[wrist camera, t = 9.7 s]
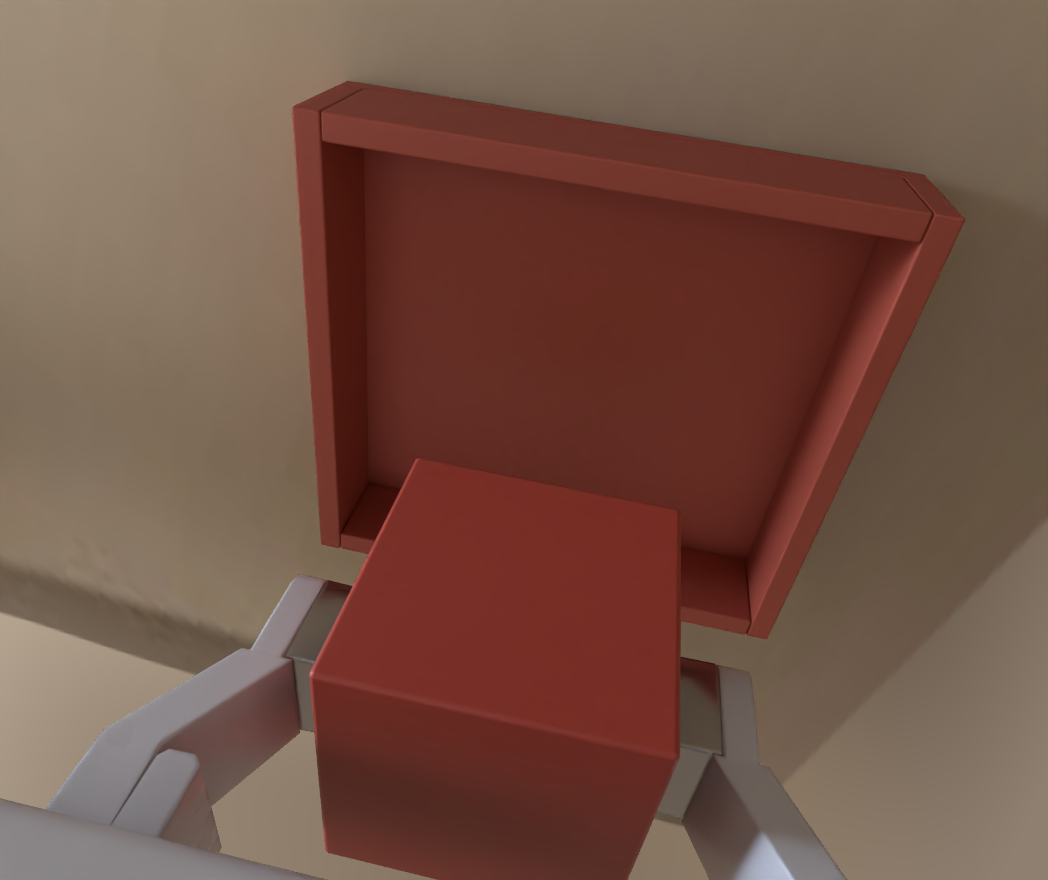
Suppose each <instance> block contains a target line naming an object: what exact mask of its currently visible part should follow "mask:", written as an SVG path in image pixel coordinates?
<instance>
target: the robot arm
mask: <svg viewBox="0 0 1048 880" xmlns="http://www.w3.org/2000/svg"><path fill="white" fill-rule="evenodd" d="M352 587H353V586H350V585H345V584H341V583H337V582H333V581H329V580H324V579H320V578H315V577H311V576H307V575H302V574H299V575H298V576H297V577H296V578H295V579H293V580H292V581H291V583H290V585H289V586H288V588H287V590H286V591H285V593H284V595H283V596H282V598H281V600H280V601H279V603H278V605H277V606H276V608H275V610H274V611H273V613H272V615H271V616H270V618H269V620H268V621H267V623H266V625H265V626H264V628H263V630H262V631H261V633H260V635H259V636H258V638H257V640H256V641H255V643H254V645H253V646H252V648H251V650H249V649H244V648H241V649H240V650H238V651H236V652H234V653H233V654H231V655H229V656H228V657H226V658H224V659H223V660H221V661H219V662H217V663H216V664H214V665H212V666H211V667H209V668H207V669H206V670H204V671H202V672H200V673H199V674H197V675H195V676H194V677H192V678H190V679H189V680H187V681H185V682H183V683H182V684H180V685H178V686H177V687H175V688H173V689H172V690H170V691H168V692H166V693H165V694H163V695H161V696H160V697H158V698H156V699H155V700H153V701H151V702H149V703H148V704H146V705H144V706H143V707H141V708H139V709H137V710H136V711H134V712H132V713H131V714H129V715H127V716H126V717H124V718H122V719H120V720H119V721H117V722H115V723H114V724H112V725H110V726H109V727H107V728H105V729H104V730H103V731H102V732H101V733H100V735H99V736H98V737H97V739H96V740H95V742H94V743H93V744H92V746H91V747H90V749H89V750H88V751H87V753H86V754H85V755H84V757H83V758H82V760H81V761H80V762H79V764H78V765H77V766H76V768H75V769H74V771H73V772H72V773H71V775H70V776H69V777H68V779H67V780H66V782H65V783H64V784H63V786H62V787H61V789H60V790H59V791H58V793H57V794H56V795H55V797H54V798H53V799H52V801H51V802H50V804H49V805H48V806H47V808H46V809H41V808H37V807H33V806H28V805H24V804H21V803H16V802H13V801H8V800H5V799H0V880H326V879H322V878H318V877H314V876H310V875H306V874H302V873H298V872H294V871H290V870H286V869H282V868H278V867H274V866H270V865H266V864H262V863H258V862H254V861H250V860H246V859H242V858H238V857H234V856H230V855H225V854H222V853H219V852H220V849H221V843H220V839H219V835H218V831H217V827H216V823H215V820H214V816H213V812H212V808H211V806H212V805H213V804H215V803H216V802H217V801H218V800H220V799H221V798H222V797H223V796H224V795H226V794H227V793H228V792H229V791H230V790H231V789H233V788H234V787H235V786H236V785H238V784H239V783H240V782H241V781H242V780H244V779H245V778H246V777H247V776H248V775H250V774H251V773H252V772H253V771H254V770H256V769H257V768H258V767H259V766H261V765H262V764H263V763H264V762H265V761H267V760H268V759H269V758H270V757H271V756H273V755H274V754H275V753H276V752H277V751H279V750H280V749H281V748H282V747H283V746H284V745H286V744H287V743H288V742H289V741H291V740H292V739H293V738H294V737H295V736H297V735H298V734H299V733H300V729H301V730H305V731H310V732H314V722H313V711H312V700H311V690H310V679H309V673H310V671H311V669H312V667H313V665H314V663H315V661H316V659H317V657H318V655H319V653H320V651H321V649H322V647H323V645H324V643H325V641H326V639H327V637H328V635H329V633H330V631H331V629H332V627H333V625H334V623H335V621H336V619H337V617H338V615H339V613H340V611H341V609H342V607H343V605H344V603H345V601H346V599H347V597H348V595H349V593H350V591H351V589H352ZM657 812H659V813H663V814H666V815H670V816H674V817H678V818H682V819H683V820H682V823H683V825H684V827H685V829H686V831H687V833H688V835H689V837H690V839H691V842H692V844H693V846H694V848H695V850H696V852H697V854H698V856H699V858H700V860H701V863H702V865H703V867H704V869H705V871H706V873H707V875H708V877H709V879H710V880H847V879H846V878H845V876H844V875H843V873H842V872H841V870H840V869H839V868H838V866H837V865H836V863H835V862H834V860H833V859H832V857H831V856H830V854H829V853H828V852H827V850H826V849H825V847H824V846H823V844H822V843H821V841H820V840H819V839H818V837H817V836H816V834H815V833H814V831H813V830H812V828H811V827H810V826H809V824H808V823H807V821H806V820H805V818H804V817H803V816H802V814H801V813H800V811H799V810H798V808H797V807H796V806H795V804H794V803H793V801H792V800H791V798H790V797H789V795H788V794H787V792H786V791H785V790H784V788H783V787H782V785H781V784H780V782H779V781H778V779H777V778H776V777H775V775H774V774H773V772H772V771H771V769H770V768H769V767H766V766H762V765H760V763H759V753H758V742H757V732H756V721H755V711H754V700H753V690H752V679H751V676H750V674H749V672H748V671H743V670H739V669H734V668H729V667H725V666H720V665H715V664H714V663H709V662H704V661H699V660H694V659H689V658H684V657H680V758H679V761H678V763H677V765H676V768H675V770H674V772H673V775H672V777H671V779H670V782H669V784H668V786H667V789H666V791H665V793H664V796H663V798H662V800H661V803H660V805H659V807H658V810H657Z"/></svg>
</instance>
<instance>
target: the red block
mask: <svg viewBox="0 0 1048 880" xmlns="http://www.w3.org/2000/svg"><path fill="white" fill-rule="evenodd" d="M680 641H681V514H680V511H678V510H676V509H671V508H666V507H661V506H656V505H651V504H646V503H641V502H636V501H631V500H626V499H621V498H616V497H611V496H606V495H601V494H596V493H591V492H586V491H581V490H576V489H571V488H566V487H561V486H556V485H551V484H546V483H541V482H536V481H531V480H526V479H521V478H516V477H511V476H506V475H502V474H497V473H492V472H487V471H482V470H477V469H472V468H467V467H462V466H457V465H452V464H447V463H442V462H437V461H432V460H427V459H422V458H418V459H416V460H415V462H414V464H413V466H412V468H411V470H410V472H409V474H408V476H407V478H406V480H405V482H404V484H403V486H402V488H401V490H400V492H399V494H398V496H397V498H396V500H395V502H394V504H393V506H392V508H391V510H390V512H389V514H388V516H387V518H386V520H385V522H384V524H383V526H382V528H381V530H380V532H379V534H378V536H377V538H376V540H375V542H374V544H373V546H372V548H371V551H370V553H369V555H368V557H367V559H366V561H365V563H364V565H363V567H362V569H361V571H360V573H359V575H358V577H357V579H356V581H355V583H354V585H353V587H352V589H351V591H350V593H349V595H348V597H347V599H346V601H345V603H344V605H343V607H342V609H341V611H340V613H339V615H338V617H337V619H336V621H335V623H334V625H333V627H332V629H331V631H330V633H329V635H328V637H327V639H326V641H325V643H324V645H323V647H322V649H321V651H320V653H319V655H318V657H317V659H316V661H315V663H314V665H313V667H312V669H311V671H310V673H309V679H310V690H311V700H312V711H313V722H314V733H315V743H316V754H317V765H318V775H319V786H320V798H321V808H322V819H323V829H324V841H325V850H326V851H327V852H328V853H332V854H335V855H339V856H344V857H348V858H352V859H356V860H360V861H364V862H369V863H372V864H377V865H381V866H384V867H389V868H393V869H397V870H401V871H405V872H409V873H413V874H417V875H421V876H425V877H429V878H433V879H437V880H628V877H629V875H630V873H631V871H632V868H633V866H634V864H635V861H636V859H637V856H638V854H639V852H640V849H641V847H642V845H643V842H644V840H645V838H646V835H647V833H648V831H649V828H650V826H651V824H652V821H653V819H654V817H655V814H656V812H657V810H658V807H659V805H660V803H661V800H662V798H663V796H664V793H665V791H666V789H667V786H668V784H669V782H670V779H671V777H672V775H673V772H674V770H675V768H676V765H677V763H678V761H679V758H680Z"/></svg>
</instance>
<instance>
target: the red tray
mask: <svg viewBox="0 0 1048 880" xmlns="http://www.w3.org/2000/svg"><path fill="white" fill-rule="evenodd" d="M292 116H293V131H294V146H295V160H296V175H297V190H298V205H299V220H300V235H301V250H302V265H303V279H304V294H305V309H306V324H307V339H308V354H309V369H310V384H311V398H312V413H313V428H314V443H315V458H316V473H317V488H318V503H319V517H320V532H321V544H322V545H327V546H332V547H336V548H340V547H341V548H343V549H347V550H352V551H357V552H362V553H366V554H369V553H370V551H371V548H372V546H373V544H374V542H375V540H376V538H377V536H378V534H379V532H380V530H381V528H382V526H383V524H384V522H385V520H386V518H387V516H388V514H389V512H390V510H391V508H392V506H393V504H394V502H395V500H396V498H397V496H398V494H399V492H400V490H401V488H402V486H403V484H404V482H405V480H406V478H407V476H408V474H409V472H410V470H411V468H412V466H413V464H414V462H415V460H416V459H418V458H422V459H427V460H432V461H437V462H442V463H447V464H452V465H457V466H462V467H467V468H472V469H477V470H482V471H487V472H492V473H497V474H502V475H506V476H511V477H516V478H521V479H526V480H531V481H536V482H541V483H546V484H551V485H556V486H561V487H566V488H571V489H576V490H581V491H586V492H591V493H596V494H601V495H606V496H611V497H616V498H621V499H626V500H631V501H636V502H641V503H646V504H651V505H656V506H661V507H666V508H671V509H676V510H678V511H680V514H681V621H684V622H688V623H693V624H698V625H702V626H707V627H712V628H716V629H721V630H726V631H730V632H735V633H740V634H746V633H747V635H748V636H753V637H757V638H762V639H767V638H768V636H769V634H770V631H771V629H772V627H773V625H774V623H775V621H776V619H777V617H778V615H779V612H780V610H781V608H782V606H783V604H784V602H785V600H786V598H787V596H788V593H789V591H790V589H791V587H792V585H793V583H794V581H795V579H796V577H797V574H798V572H799V570H800V568H801V566H802V564H803V562H804V560H805V557H806V555H807V553H808V551H809V549H810V547H811V545H812V543H813V541H814V538H815V536H816V534H817V532H818V530H819V528H820V526H821V524H822V522H823V519H824V517H825V515H826V513H827V511H828V509H829V507H830V505H831V503H832V500H833V498H834V496H835V494H836V492H837V490H838V488H839V486H840V484H841V481H842V479H843V477H844V475H845V473H846V471H847V469H848V467H849V465H850V462H851V460H852V458H853V456H854V454H855V452H856V450H857V448H858V446H859V443H860V441H861V439H862V437H863V435H864V433H865V431H866V429H867V427H868V424H869V422H870V420H871V418H872V416H873V414H874V412H875V410H876V407H877V405H878V403H879V401H880V399H881V397H882V395H883V393H884V391H885V388H886V386H887V384H888V382H889V380H890V378H891V376H892V374H893V372H894V369H895V367H896V365H897V363H898V361H899V359H900V357H901V355H902V353H903V350H904V348H905V346H906V344H907V342H908V340H909V338H910V336H911V334H912V331H913V329H914V327H915V325H916V323H917V321H918V319H919V317H920V315H921V312H922V310H923V308H924V306H925V304H926V302H927V300H928V298H929V296H930V293H931V291H932V289H933V287H934V285H935V283H936V281H937V279H938V277H939V274H940V272H941V270H942V268H943V266H944V264H945V262H946V260H947V257H948V255H949V253H950V251H951V249H952V247H953V245H954V243H955V241H956V238H957V236H958V234H959V232H960V230H961V228H962V226H963V224H964V222H965V218H964V217H963V216H962V215H961V214H960V213H959V212H958V211H957V210H956V209H955V208H954V207H953V205H952V204H951V203H950V202H949V201H948V200H947V199H946V198H945V197H944V196H943V195H942V194H941V193H940V192H939V191H938V189H937V188H936V187H935V186H934V185H933V184H932V183H931V182H930V181H929V180H928V179H927V178H926V177H925V176H924V175H921V174H915V173H909V172H903V171H897V170H891V169H885V168H878V167H872V166H866V165H860V164H854V163H848V162H842V161H835V160H829V159H823V158H817V157H811V156H805V155H799V154H792V153H786V152H780V151H774V150H768V149H762V148H756V147H749V146H743V145H737V144H731V143H725V142H719V141H713V140H706V139H700V138H694V137H688V136H682V135H676V134H670V133H663V132H657V131H651V130H645V129H639V128H633V127H627V126H620V125H614V124H608V123H602V122H596V121H590V120H584V119H578V118H571V117H565V116H559V115H553V114H547V113H541V112H535V111H528V110H522V109H516V108H510V107H504V106H498V105H492V104H485V103H479V102H473V101H467V100H461V99H455V98H449V97H442V96H436V95H430V94H424V93H418V92H412V91H406V90H399V89H393V88H387V87H381V86H375V85H369V84H363V83H356V82H350V81H347V82H344V83H342V84H340V85H337V86H335V87H333V88H331V89H329V90H327V91H325V92H323V93H320V94H318V95H316V96H314V97H312V98H310V99H308V100H306V101H304V102H301V103H299V104H297V105H295V106H293V107H292Z"/></svg>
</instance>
